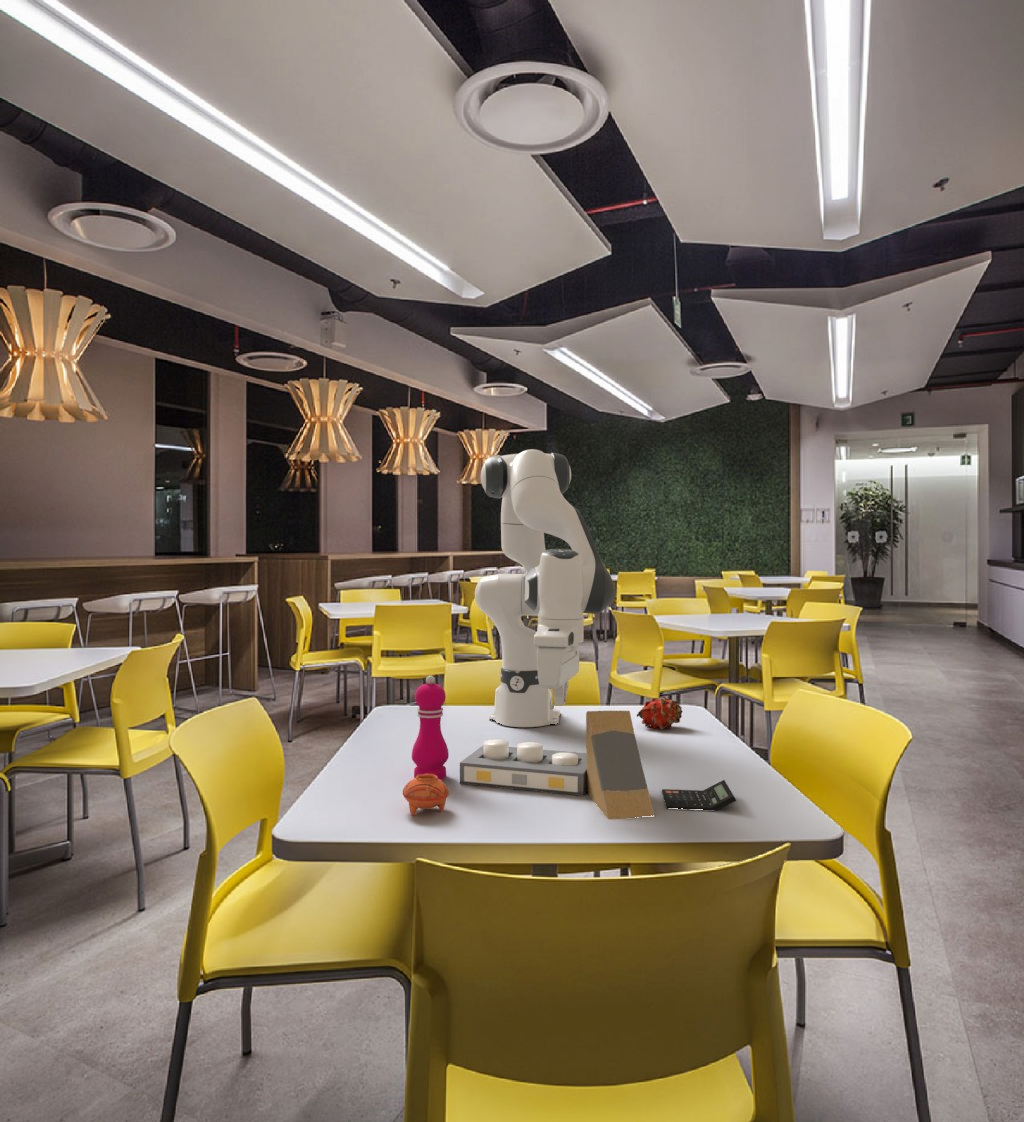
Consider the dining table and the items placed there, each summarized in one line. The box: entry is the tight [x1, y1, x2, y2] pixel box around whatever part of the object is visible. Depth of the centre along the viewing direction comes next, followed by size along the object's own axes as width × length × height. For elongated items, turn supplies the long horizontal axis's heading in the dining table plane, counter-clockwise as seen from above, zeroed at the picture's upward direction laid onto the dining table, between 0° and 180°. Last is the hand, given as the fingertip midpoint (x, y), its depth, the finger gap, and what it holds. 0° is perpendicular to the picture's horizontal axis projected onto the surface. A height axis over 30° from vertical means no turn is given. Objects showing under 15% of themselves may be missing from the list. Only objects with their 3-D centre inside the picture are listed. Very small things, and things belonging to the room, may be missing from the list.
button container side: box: [552, 753, 578, 766], centre depth 141 cm, size 5×5×4 cm
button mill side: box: [483, 739, 510, 760], centre depth 145 cm, size 5×5×4 cm
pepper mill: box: [411, 675, 449, 781], centre depth 143 cm, size 7×7×20 cm
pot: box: [402, 774, 450, 817], centre depth 124 cm, size 8×8×7 cm
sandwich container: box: [585, 710, 655, 820], centre depth 129 cm, size 9×15×15 cm, turn 8°
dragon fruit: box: [636, 696, 683, 731], centre depth 186 cm, size 8×8×12 cm
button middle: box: [516, 741, 544, 763], centre depth 143 cm, size 5×5×4 cm
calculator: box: [661, 779, 737, 811], centre depth 130 cm, size 9×12×3 cm
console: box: [459, 744, 587, 796], centre depth 142 cm, size 14×24×4 cm, turn 73°
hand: (560, 704), depth 141 cm, fingers closed
